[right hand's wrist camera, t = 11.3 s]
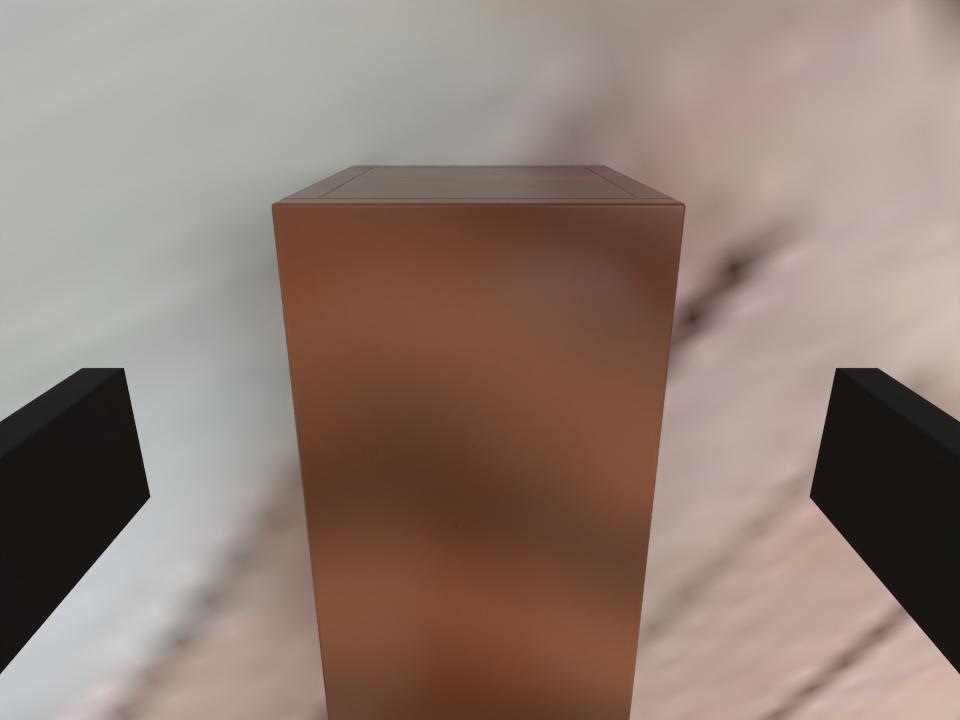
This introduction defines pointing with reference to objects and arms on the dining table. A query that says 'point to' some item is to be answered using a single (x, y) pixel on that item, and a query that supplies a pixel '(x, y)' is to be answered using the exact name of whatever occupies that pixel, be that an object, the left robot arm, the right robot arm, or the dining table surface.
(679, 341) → the dining table surface
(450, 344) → the cabinet
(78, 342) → the dining table surface
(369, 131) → the dining table surface
